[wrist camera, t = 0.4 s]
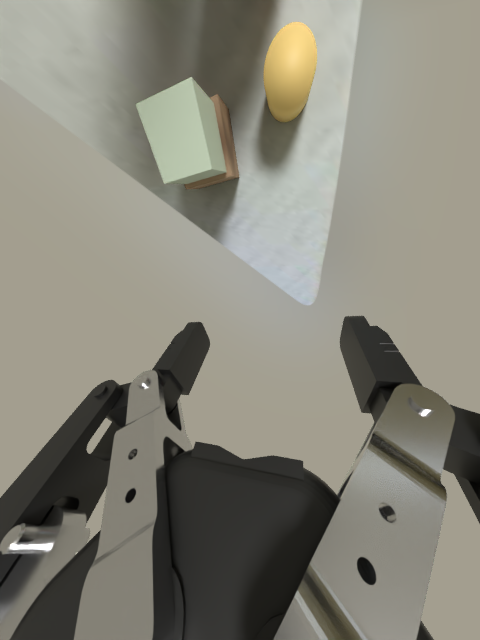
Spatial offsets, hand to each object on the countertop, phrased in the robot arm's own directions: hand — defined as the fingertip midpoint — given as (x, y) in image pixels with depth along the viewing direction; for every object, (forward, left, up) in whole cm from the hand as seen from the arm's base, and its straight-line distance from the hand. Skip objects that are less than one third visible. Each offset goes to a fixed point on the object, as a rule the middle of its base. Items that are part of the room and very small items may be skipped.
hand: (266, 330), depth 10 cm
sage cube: (-12, -9, -21) cm, 26 cm away
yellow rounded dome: (-15, +2, -26) cm, 30 cm away
